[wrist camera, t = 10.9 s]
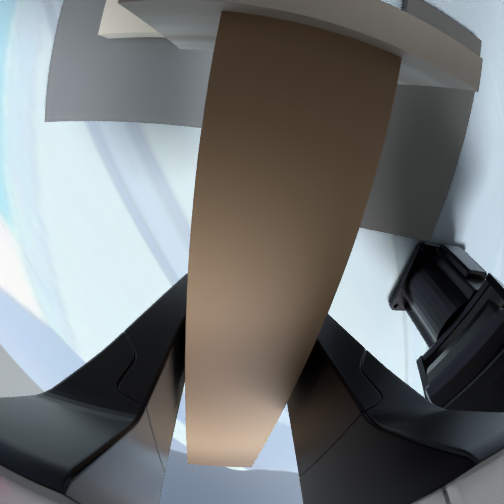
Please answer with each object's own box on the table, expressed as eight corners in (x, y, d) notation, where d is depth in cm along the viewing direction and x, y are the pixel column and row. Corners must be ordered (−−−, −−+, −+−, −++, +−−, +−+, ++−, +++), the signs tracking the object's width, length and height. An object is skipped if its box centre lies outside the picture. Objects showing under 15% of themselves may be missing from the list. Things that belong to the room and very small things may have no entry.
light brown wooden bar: (273, 391, 13) (283, 474, 9) (166, 382, 12) (155, 467, 9) (369, 64, 6) (482, 58, 3) (183, 28, 6) (128, -35, 2)
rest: (425, 238, 20) (428, 241, 20) (351, 223, 19) (353, 226, 19) (477, 40, 12) (481, 40, 12) (404, -6, 11) (408, -7, 11)
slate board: (305, 143, 16) (309, 146, 16) (52, 119, 14) (44, 122, 13) (344, -49, 10) (350, -54, 9) (95, -65, 7) (90, -70, 6)
